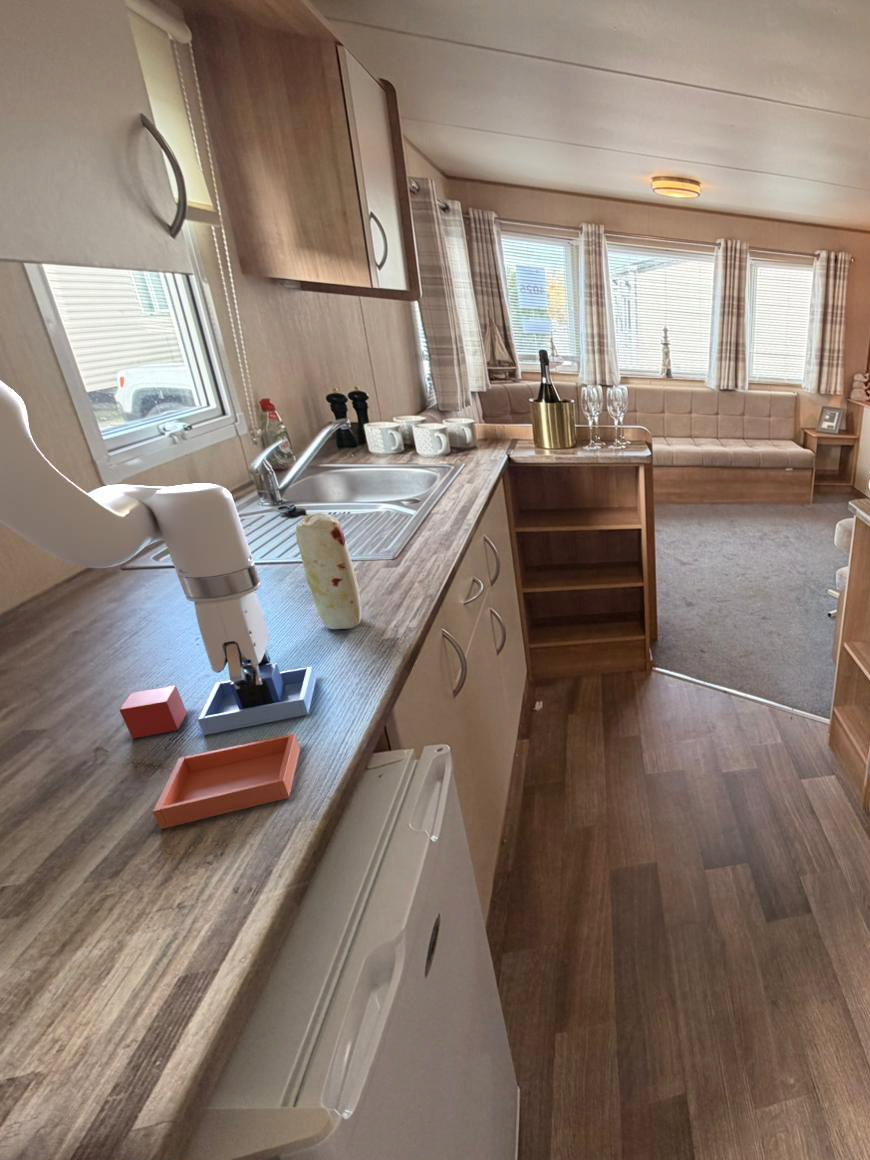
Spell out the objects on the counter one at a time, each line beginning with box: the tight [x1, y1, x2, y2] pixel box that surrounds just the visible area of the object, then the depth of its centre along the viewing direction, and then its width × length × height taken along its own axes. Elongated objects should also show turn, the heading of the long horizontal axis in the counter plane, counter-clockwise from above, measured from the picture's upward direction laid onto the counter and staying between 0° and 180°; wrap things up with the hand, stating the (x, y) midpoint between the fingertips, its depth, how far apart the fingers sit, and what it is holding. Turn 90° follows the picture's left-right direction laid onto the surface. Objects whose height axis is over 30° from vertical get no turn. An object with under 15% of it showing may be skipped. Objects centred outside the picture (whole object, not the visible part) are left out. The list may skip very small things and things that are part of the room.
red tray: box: [152, 733, 301, 830], centre depth 75 cm, size 11×10×2 cm
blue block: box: [230, 662, 285, 710], centre depth 89 cm, size 4×4×4 cm
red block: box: [119, 684, 188, 740], centre depth 84 cm, size 4×4×4 cm
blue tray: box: [197, 666, 317, 736], centre depth 90 cm, size 11×10×2 cm
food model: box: [294, 512, 362, 630], centre depth 111 cm, size 10×7×20 cm
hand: (262, 698), depth 90 cm, fingers closed on blue block, 4 cm apart
